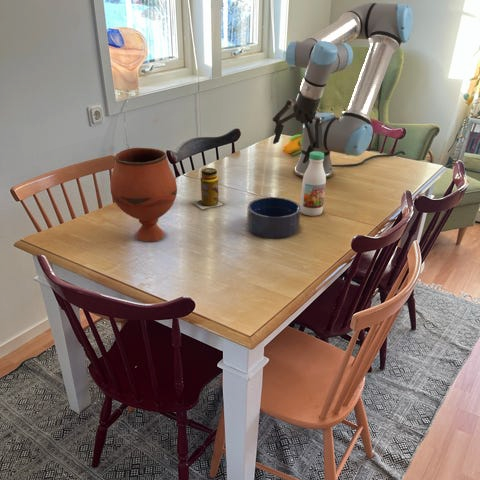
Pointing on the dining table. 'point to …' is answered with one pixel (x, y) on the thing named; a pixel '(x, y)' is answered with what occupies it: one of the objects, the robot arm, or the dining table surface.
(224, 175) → the dining table surface
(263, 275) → the dining table surface
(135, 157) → the goblet
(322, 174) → the milk bottle
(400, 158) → the dining table surface
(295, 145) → the corn
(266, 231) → the pot
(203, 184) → the condiment
